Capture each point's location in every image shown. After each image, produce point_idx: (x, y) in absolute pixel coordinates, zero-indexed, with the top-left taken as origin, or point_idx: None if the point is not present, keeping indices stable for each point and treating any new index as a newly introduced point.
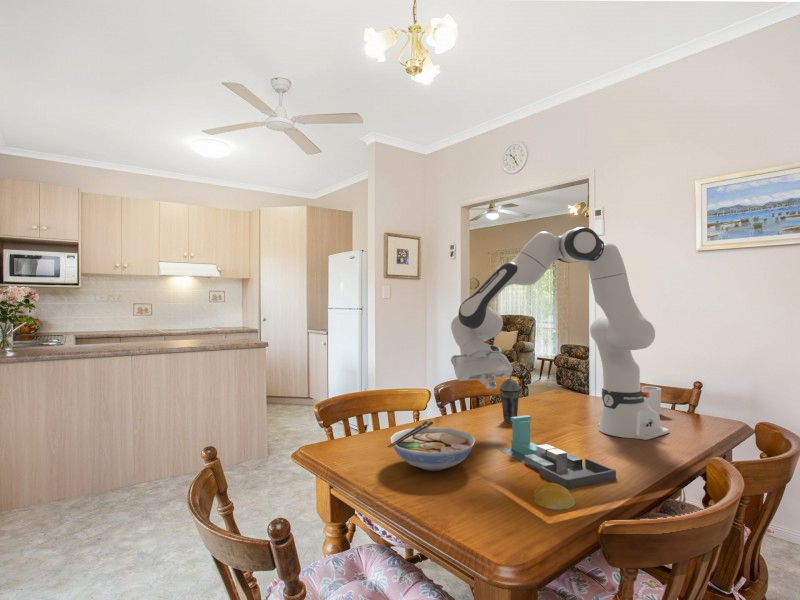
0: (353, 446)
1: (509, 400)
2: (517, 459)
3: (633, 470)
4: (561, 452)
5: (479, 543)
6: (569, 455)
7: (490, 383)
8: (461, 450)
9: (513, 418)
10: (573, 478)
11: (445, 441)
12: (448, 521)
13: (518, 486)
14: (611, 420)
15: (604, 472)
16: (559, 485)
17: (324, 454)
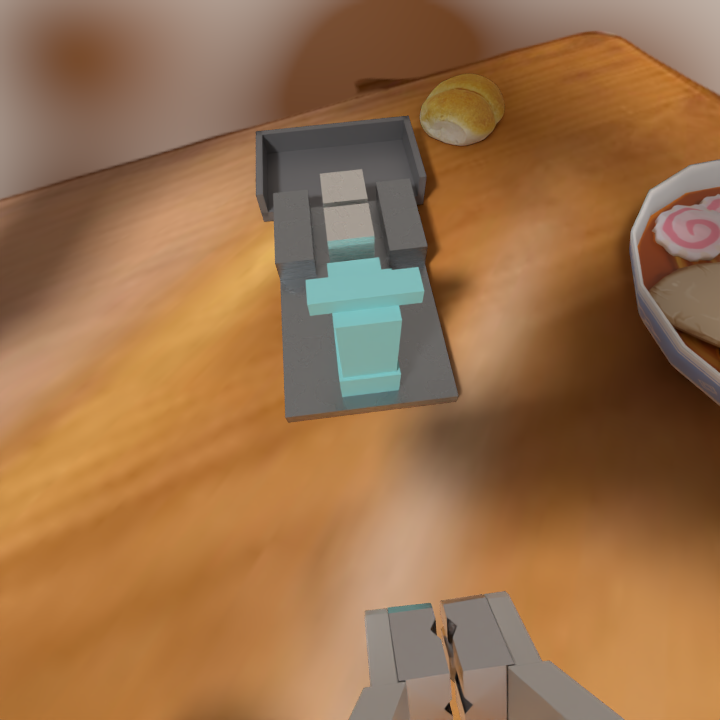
0: None
1: None
2: (431, 292)
3: (153, 199)
4: (335, 177)
5: (636, 65)
6: (286, 220)
7: (480, 637)
8: (697, 166)
9: (419, 272)
10: (387, 119)
11: None
12: (686, 109)
13: (497, 185)
14: None
15: (292, 128)
16: (446, 93)
17: None
